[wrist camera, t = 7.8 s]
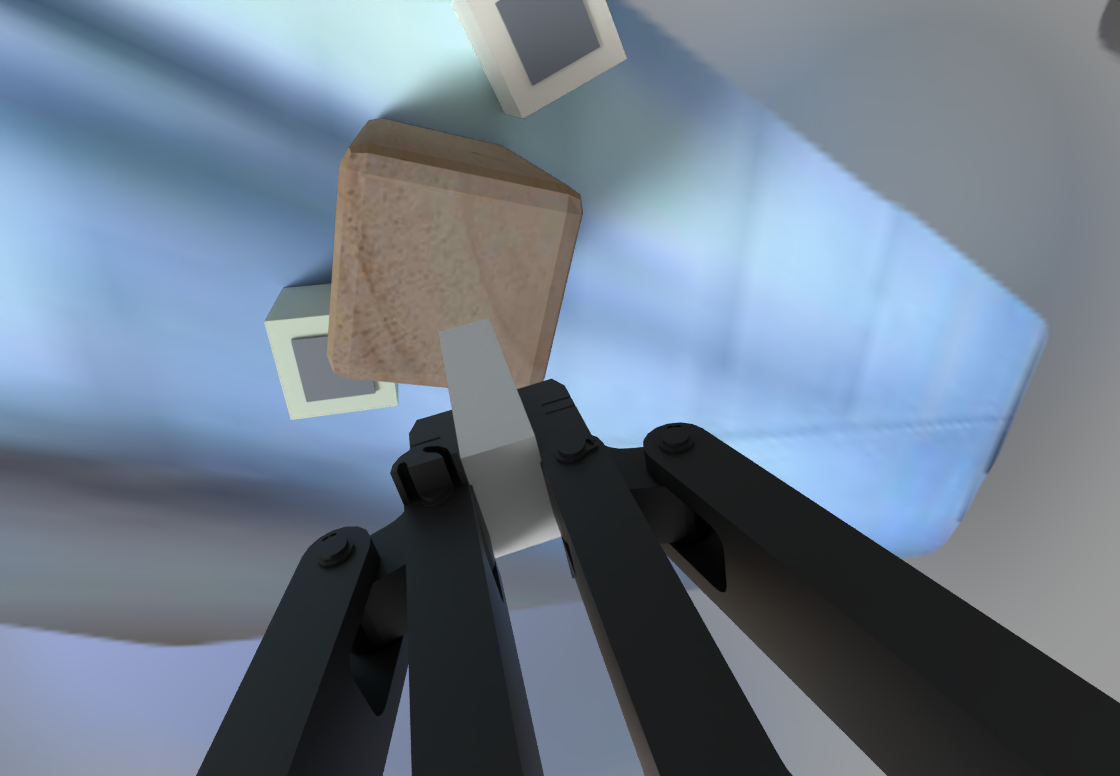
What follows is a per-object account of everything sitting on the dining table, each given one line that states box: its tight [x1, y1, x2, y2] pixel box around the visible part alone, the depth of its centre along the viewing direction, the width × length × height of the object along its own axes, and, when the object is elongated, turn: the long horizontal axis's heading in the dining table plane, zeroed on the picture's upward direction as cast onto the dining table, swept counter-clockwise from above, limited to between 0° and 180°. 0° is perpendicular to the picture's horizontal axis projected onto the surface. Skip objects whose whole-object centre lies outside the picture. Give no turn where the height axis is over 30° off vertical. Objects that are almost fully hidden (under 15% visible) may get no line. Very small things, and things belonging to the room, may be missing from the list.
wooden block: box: [327, 118, 583, 389], centre depth 34 cm, size 10×10×20 cm
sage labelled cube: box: [264, 284, 398, 420], centre depth 42 cm, size 7×7×7 cm
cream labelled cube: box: [451, 0, 627, 119], centre depth 36 cm, size 7×7×7 cm
